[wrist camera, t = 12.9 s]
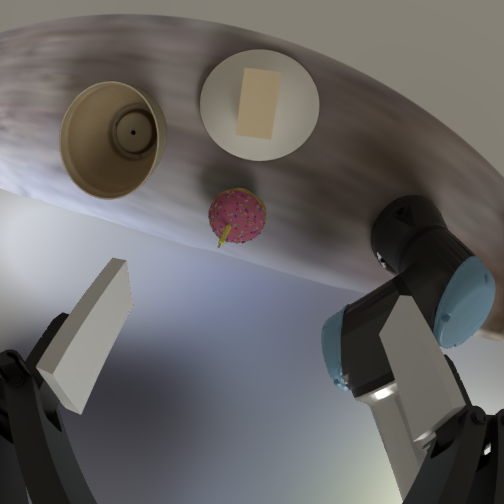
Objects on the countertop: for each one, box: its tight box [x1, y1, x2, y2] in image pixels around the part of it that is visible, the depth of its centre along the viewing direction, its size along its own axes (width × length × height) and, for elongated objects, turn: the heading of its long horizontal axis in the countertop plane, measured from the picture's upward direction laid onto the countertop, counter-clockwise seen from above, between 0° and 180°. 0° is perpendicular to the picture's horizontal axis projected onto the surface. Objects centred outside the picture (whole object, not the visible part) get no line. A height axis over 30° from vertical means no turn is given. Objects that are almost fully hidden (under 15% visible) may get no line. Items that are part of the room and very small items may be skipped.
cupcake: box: [208, 188, 266, 248], centre depth 39 cm, size 9×8×12 cm
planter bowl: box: [59, 81, 167, 200], centre depth 34 cm, size 16×16×11 cm
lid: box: [200, 49, 319, 161], centre depth 31 cm, size 17×17×10 cm
